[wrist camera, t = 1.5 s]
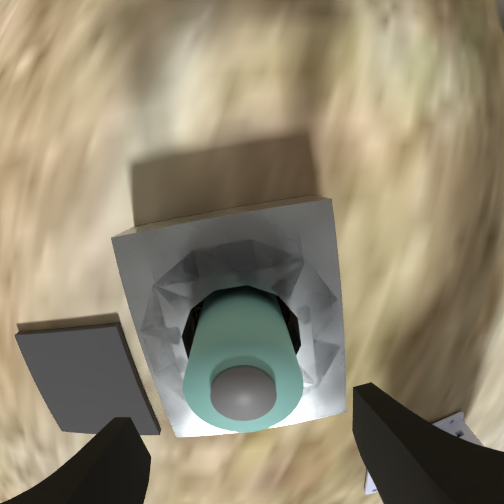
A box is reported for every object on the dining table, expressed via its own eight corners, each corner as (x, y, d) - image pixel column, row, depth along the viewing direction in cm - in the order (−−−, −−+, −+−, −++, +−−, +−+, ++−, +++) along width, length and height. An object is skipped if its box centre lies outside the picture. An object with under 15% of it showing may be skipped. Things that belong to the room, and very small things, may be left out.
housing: (313, 194, 17) (331, 198, 14) (331, 379, 20) (346, 411, 16) (134, 226, 17) (111, 237, 14) (183, 402, 20) (176, 437, 16)
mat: (119, 322, 18) (116, 326, 18) (161, 429, 20) (159, 434, 20) (18, 332, 18) (14, 335, 18) (64, 426, 20) (61, 431, 20)
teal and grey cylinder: (274, 269, 18) (299, 334, 10) (284, 340, 19) (309, 428, 11) (194, 283, 18) (166, 353, 10) (211, 351, 19) (198, 443, 11)
